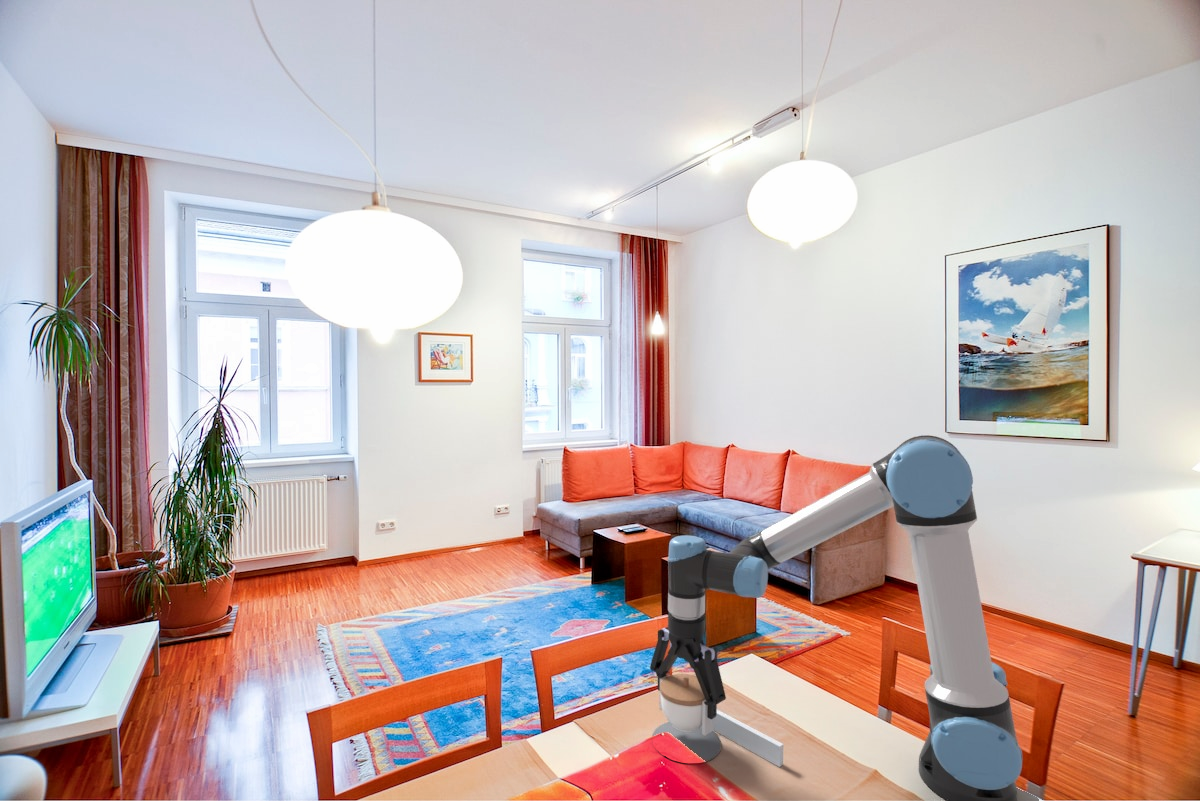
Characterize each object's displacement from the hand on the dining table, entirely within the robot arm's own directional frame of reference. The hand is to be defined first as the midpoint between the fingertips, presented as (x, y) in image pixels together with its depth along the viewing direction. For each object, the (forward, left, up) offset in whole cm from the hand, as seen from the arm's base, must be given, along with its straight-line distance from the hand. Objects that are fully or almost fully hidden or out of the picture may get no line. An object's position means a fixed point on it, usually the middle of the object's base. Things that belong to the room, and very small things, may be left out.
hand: (685, 719), depth 117 cm
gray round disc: (0, 0, -5) cm, 5 cm away
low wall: (-6, -8, -5) cm, 11 cm away
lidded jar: (0, 0, -1) cm, 1 cm away
